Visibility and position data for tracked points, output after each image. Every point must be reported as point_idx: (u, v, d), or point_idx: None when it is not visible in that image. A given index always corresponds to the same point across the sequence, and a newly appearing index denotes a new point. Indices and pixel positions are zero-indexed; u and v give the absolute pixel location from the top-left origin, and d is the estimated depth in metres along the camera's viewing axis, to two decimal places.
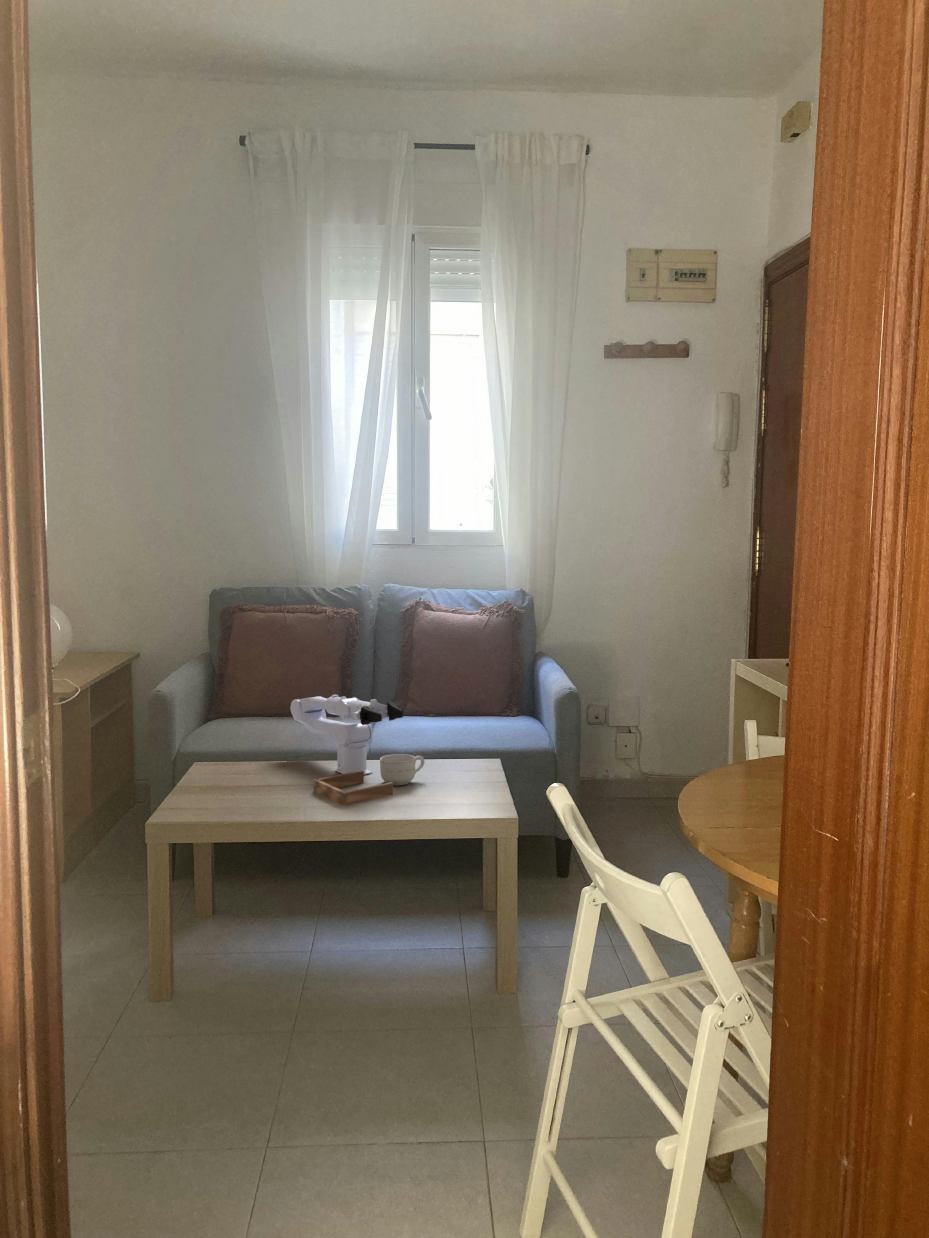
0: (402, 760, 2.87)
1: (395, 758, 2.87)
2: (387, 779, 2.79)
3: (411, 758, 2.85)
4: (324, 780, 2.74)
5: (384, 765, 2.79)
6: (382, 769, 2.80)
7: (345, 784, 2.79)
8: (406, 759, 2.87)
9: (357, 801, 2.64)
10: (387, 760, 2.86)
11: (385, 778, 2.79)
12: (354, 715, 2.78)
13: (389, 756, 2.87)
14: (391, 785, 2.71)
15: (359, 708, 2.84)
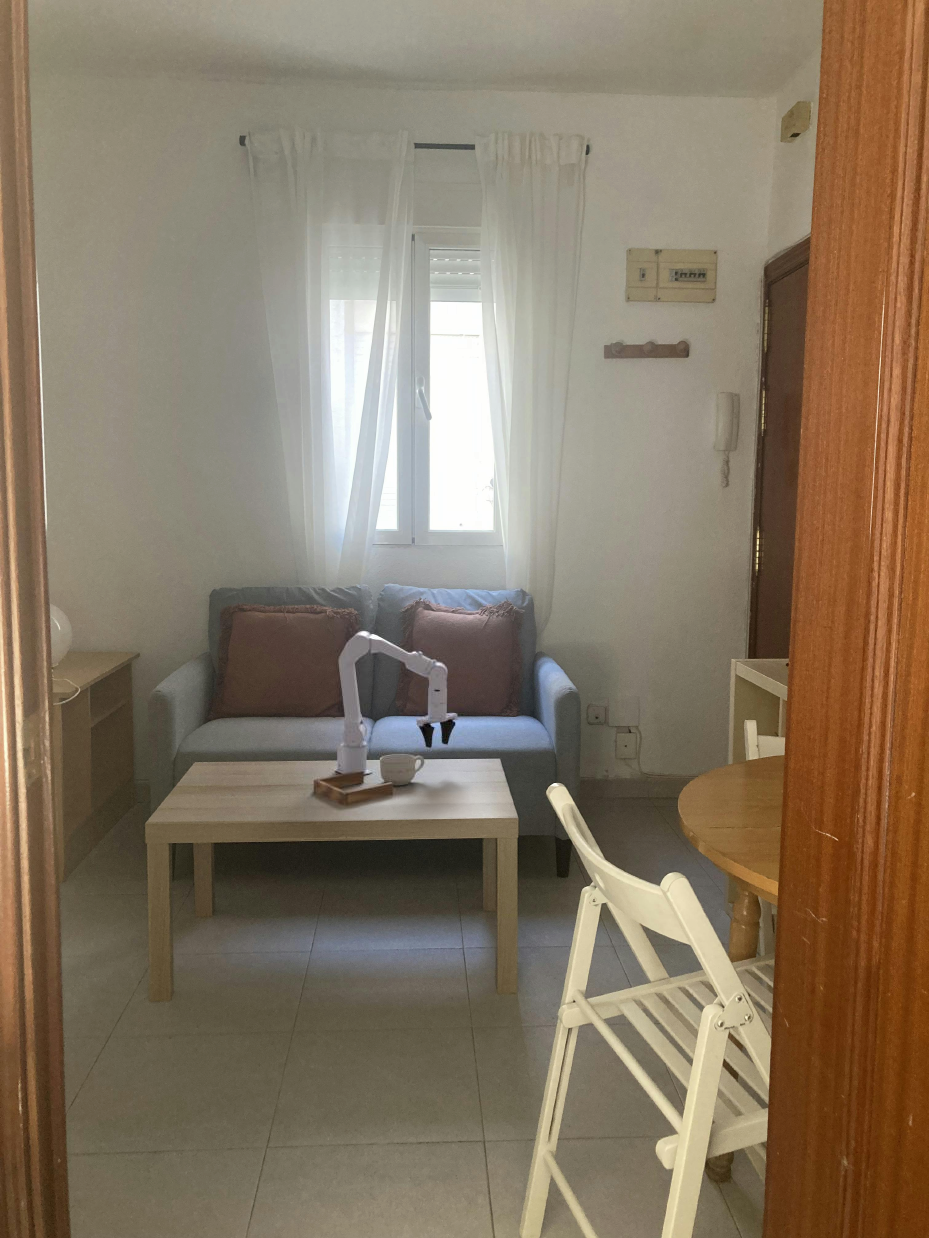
0: (402, 760, 2.87)
1: (395, 758, 2.87)
2: (387, 779, 2.79)
3: (411, 758, 2.85)
4: (324, 780, 2.74)
5: (384, 765, 2.79)
6: (382, 769, 2.80)
7: (345, 784, 2.79)
8: (406, 759, 2.87)
9: (357, 801, 2.64)
10: (387, 760, 2.86)
11: (385, 778, 2.79)
12: (418, 721, 2.85)
13: (389, 756, 2.87)
14: (391, 785, 2.71)
15: (433, 706, 2.87)
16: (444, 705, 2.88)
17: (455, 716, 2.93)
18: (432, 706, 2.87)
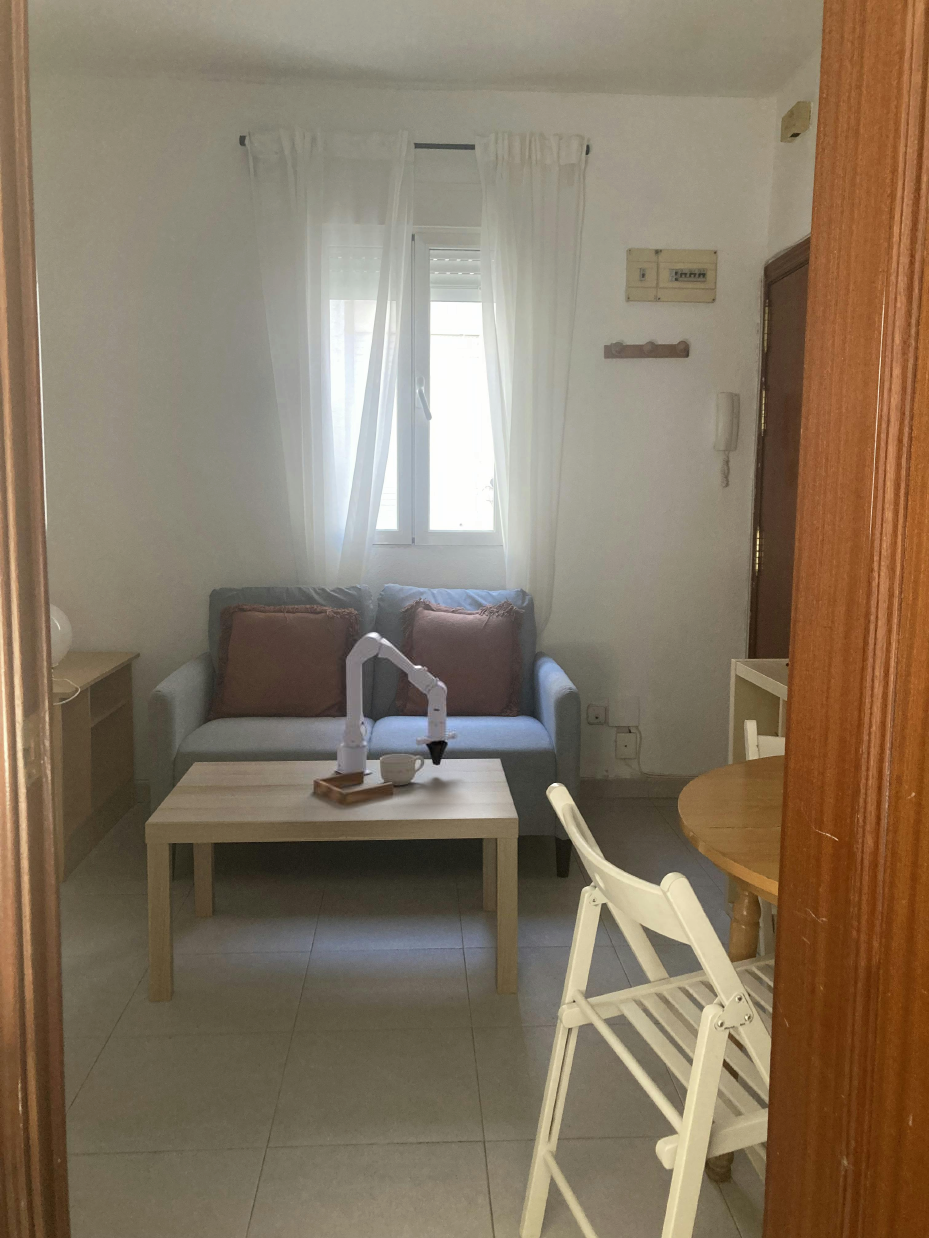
0: (402, 760, 2.87)
1: (395, 758, 2.87)
2: (387, 779, 2.79)
3: (411, 758, 2.85)
4: (324, 780, 2.74)
5: (384, 765, 2.79)
6: (382, 769, 2.80)
7: (345, 784, 2.79)
8: (406, 759, 2.87)
9: (357, 801, 2.64)
10: (387, 760, 2.86)
11: (385, 778, 2.79)
12: (418, 741, 2.86)
13: (389, 756, 2.87)
14: (391, 785, 2.71)
15: (432, 726, 2.88)
16: (443, 724, 2.88)
17: (454, 735, 2.94)
18: (432, 725, 2.88)
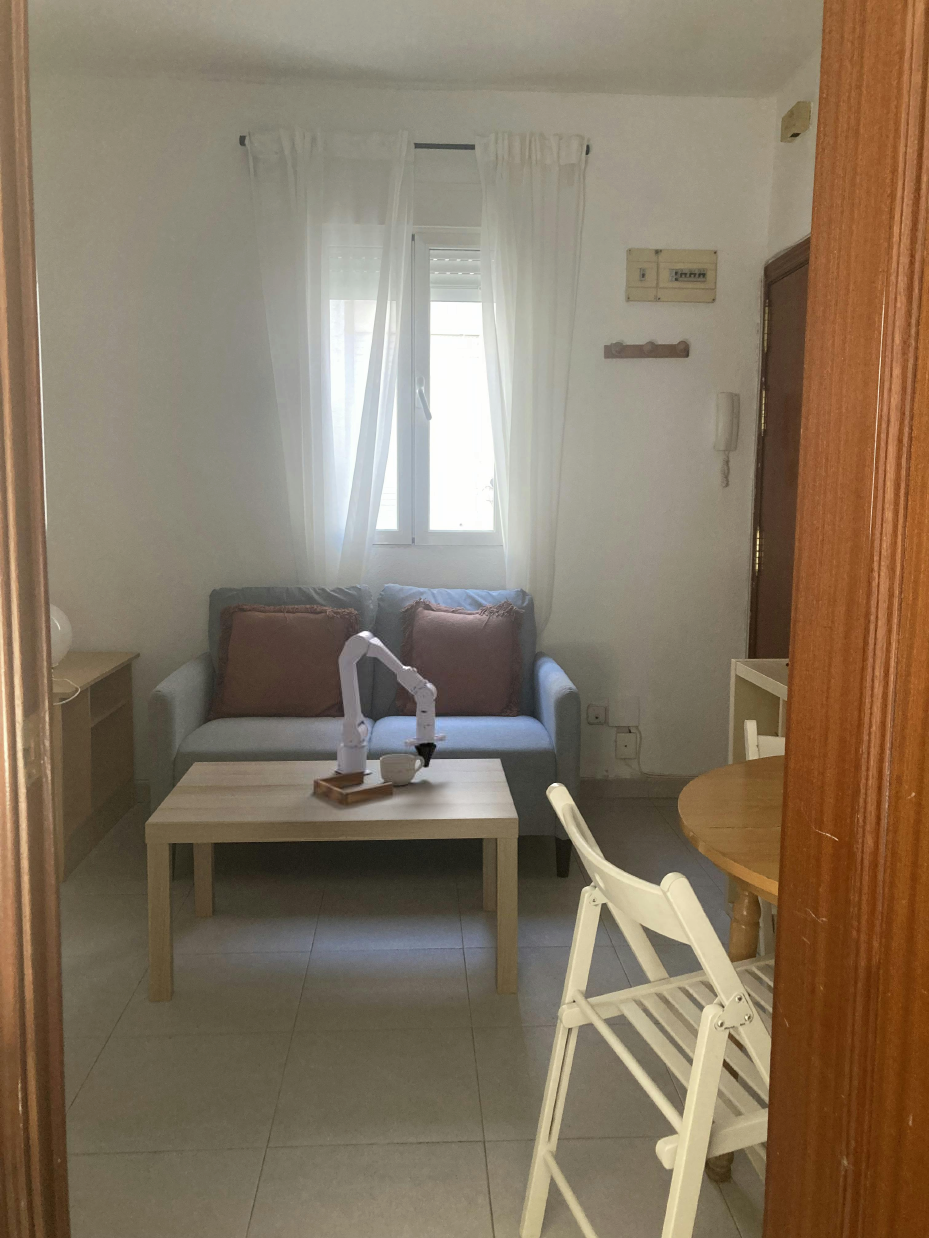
0: (402, 760, 2.87)
1: (395, 758, 2.87)
2: (387, 779, 2.79)
3: (411, 758, 2.85)
4: (324, 780, 2.74)
5: (384, 765, 2.79)
6: (382, 769, 2.80)
7: (345, 784, 2.79)
8: (406, 759, 2.87)
9: (357, 801, 2.64)
10: (387, 760, 2.86)
11: (385, 778, 2.79)
12: (406, 743, 2.83)
13: (389, 756, 2.87)
14: (391, 785, 2.71)
15: (421, 728, 2.85)
16: (432, 726, 2.86)
17: (443, 737, 2.91)
18: (420, 727, 2.85)
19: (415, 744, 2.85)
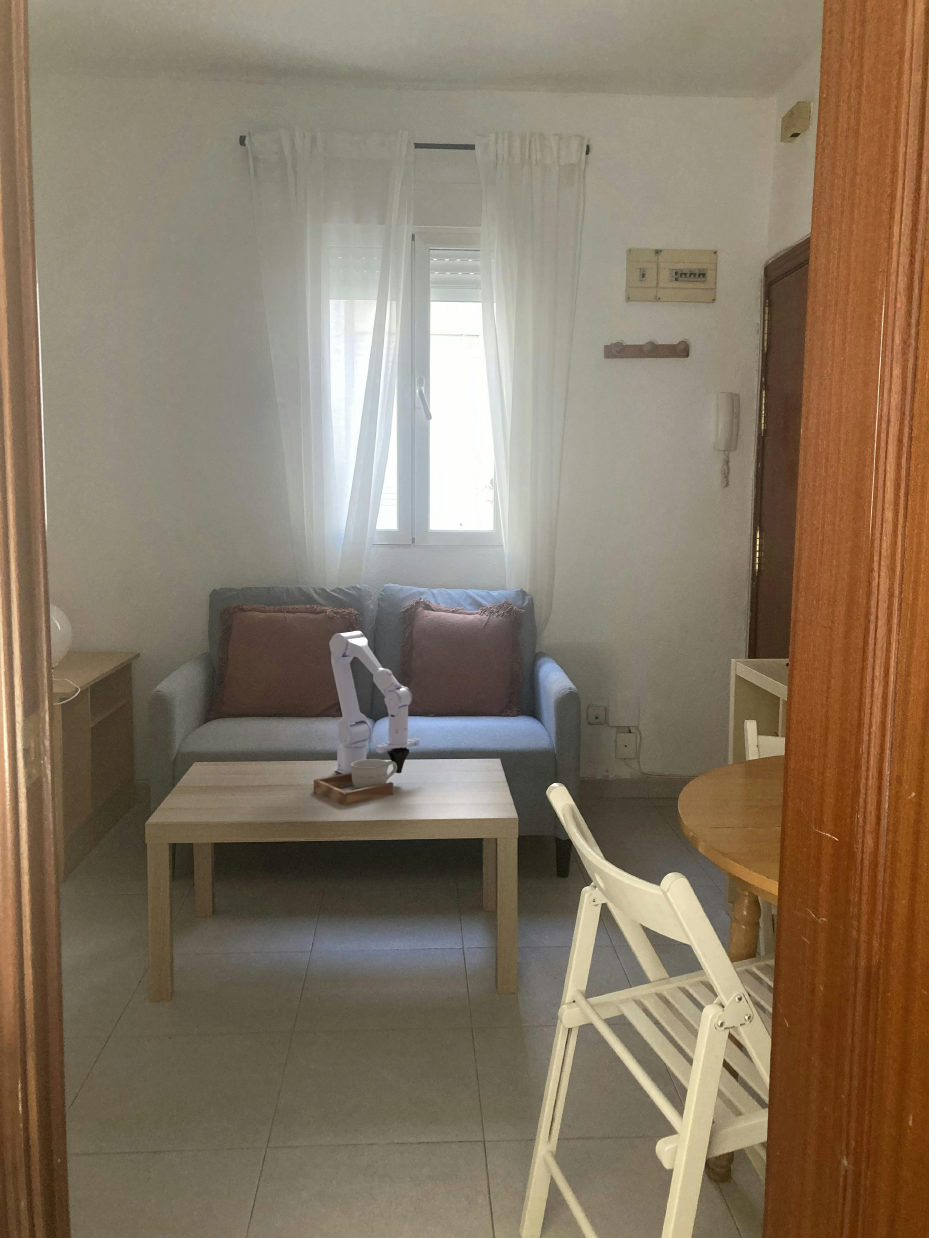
0: (374, 765, 2.81)
1: (367, 763, 2.81)
2: (358, 785, 2.72)
3: (383, 763, 2.79)
4: (324, 780, 2.74)
5: (355, 770, 2.72)
6: (353, 775, 2.74)
7: (345, 784, 2.79)
8: (379, 764, 2.80)
9: (357, 801, 2.64)
10: (359, 765, 2.80)
11: (356, 784, 2.73)
12: (378, 748, 2.76)
13: (361, 761, 2.80)
14: (391, 785, 2.71)
15: (393, 732, 2.78)
16: (405, 731, 2.79)
17: (417, 742, 2.85)
18: (392, 732, 2.78)
19: (387, 749, 2.79)
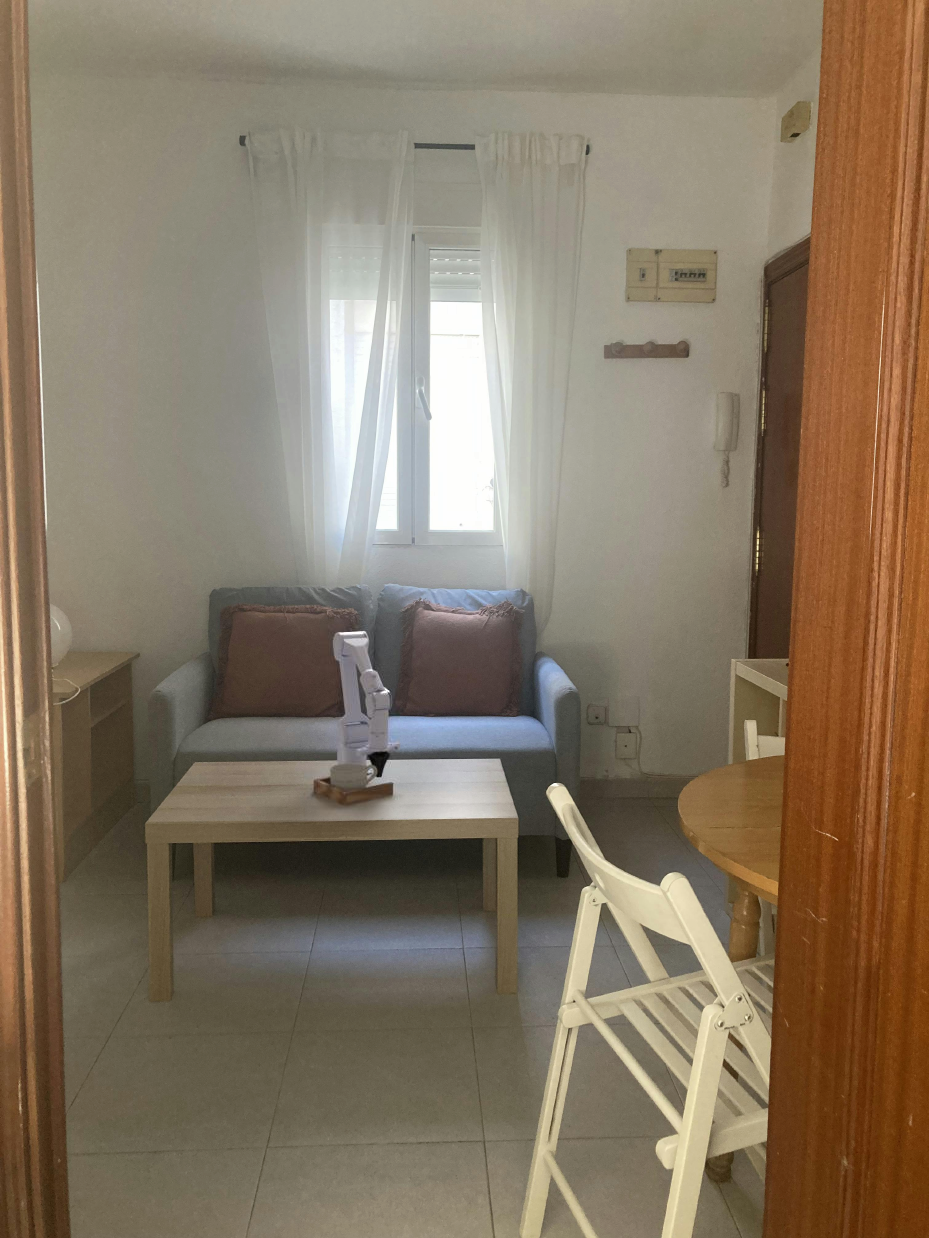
0: (354, 769, 2.76)
1: (347, 767, 2.77)
2: None
3: (363, 767, 2.74)
4: (324, 780, 2.74)
5: (333, 775, 2.68)
6: (332, 779, 2.69)
7: None
8: (358, 768, 2.76)
9: (357, 801, 2.64)
10: (339, 769, 2.75)
11: None
12: (358, 752, 2.72)
13: (341, 765, 2.76)
14: (391, 785, 2.71)
15: (373, 736, 2.74)
16: (385, 734, 2.74)
17: (398, 745, 2.80)
18: (372, 736, 2.74)
19: (367, 753, 2.74)
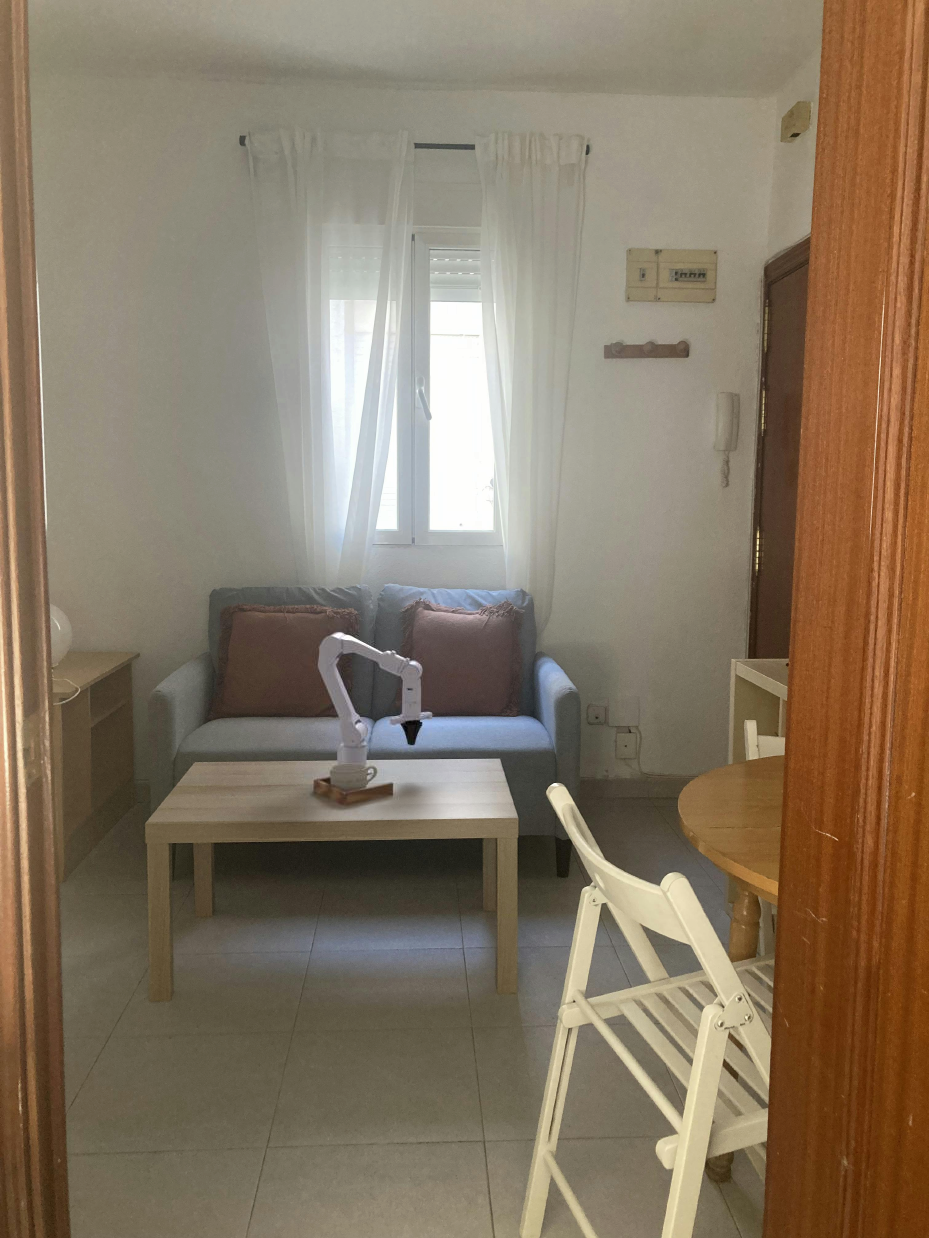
0: (354, 769, 2.76)
1: (347, 767, 2.77)
2: None
3: (363, 767, 2.74)
4: (324, 780, 2.74)
5: (333, 775, 2.68)
6: (332, 779, 2.69)
7: None
8: (358, 768, 2.76)
9: (357, 801, 2.64)
10: (339, 769, 2.75)
11: None
12: (392, 720, 2.84)
13: (341, 765, 2.76)
14: (391, 785, 2.71)
15: (406, 705, 2.85)
16: (418, 704, 2.86)
17: (430, 715, 2.92)
18: (406, 705, 2.86)
19: (401, 721, 2.86)
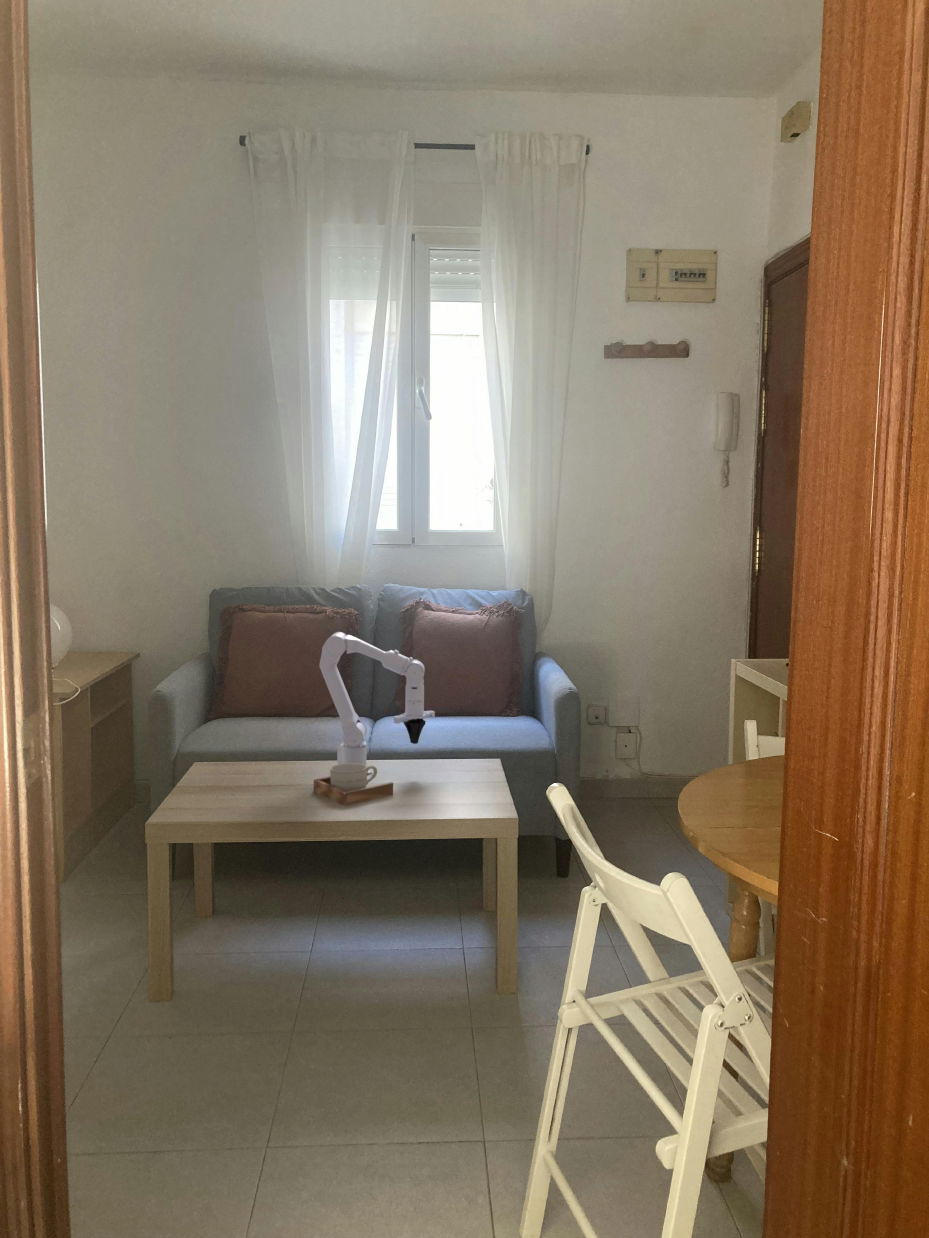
0: (354, 769, 2.76)
1: (347, 767, 2.77)
2: None
3: (363, 767, 2.74)
4: (324, 780, 2.74)
5: (333, 775, 2.68)
6: (332, 779, 2.69)
7: None
8: (358, 768, 2.76)
9: (357, 801, 2.64)
10: (339, 769, 2.75)
11: None
12: (395, 719, 2.86)
13: (341, 765, 2.76)
14: (391, 785, 2.71)
15: (410, 704, 2.87)
16: (421, 703, 2.88)
17: (433, 714, 2.94)
18: (409, 704, 2.88)
19: (404, 720, 2.88)
